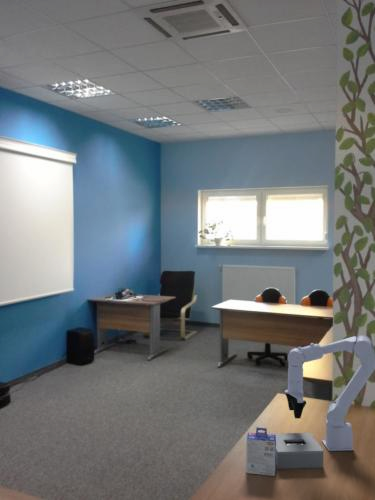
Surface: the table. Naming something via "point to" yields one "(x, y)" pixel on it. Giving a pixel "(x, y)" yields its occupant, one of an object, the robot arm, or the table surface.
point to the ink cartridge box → (261, 453)
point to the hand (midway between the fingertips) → (294, 413)
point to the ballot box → (298, 451)
